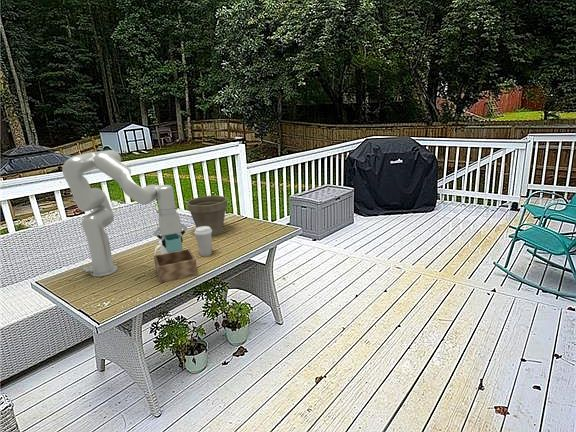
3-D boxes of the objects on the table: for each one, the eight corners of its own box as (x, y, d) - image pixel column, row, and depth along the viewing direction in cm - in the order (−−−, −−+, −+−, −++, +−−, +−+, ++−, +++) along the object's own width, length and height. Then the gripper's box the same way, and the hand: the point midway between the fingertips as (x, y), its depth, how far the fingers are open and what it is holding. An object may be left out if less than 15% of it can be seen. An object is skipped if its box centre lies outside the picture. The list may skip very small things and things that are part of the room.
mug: (159, 264, 209) (156, 246, 206) (152, 260, 214) (149, 242, 211) (179, 257, 217) (177, 240, 214) (172, 253, 222) (169, 236, 219)
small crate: (167, 253, 189) (166, 241, 187) (164, 245, 198) (162, 234, 196) (182, 250, 191) (180, 238, 190) (178, 242, 201) (176, 231, 199)
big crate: (160, 282, 188) (157, 267, 186) (155, 270, 202) (153, 255, 200) (197, 274, 196) (195, 259, 193) (190, 262, 209) (189, 248, 207)
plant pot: (189, 229, 262) (185, 197, 255) (226, 224, 269) (223, 193, 262) (192, 241, 239) (188, 207, 232) (232, 236, 246) (229, 202, 239)
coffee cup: (197, 258, 215) (194, 232, 210) (196, 251, 224) (193, 226, 219) (215, 255, 217) (212, 230, 212) (213, 249, 226) (211, 224, 221)
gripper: (149, 216, 182) (155, 251, 188) (187, 209, 189) (192, 244, 195) (148, 212, 189) (153, 246, 194) (184, 206, 196) (189, 239, 201)
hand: (172, 245), depth 194 cm, fingers closed on small crate, 7 cm apart
